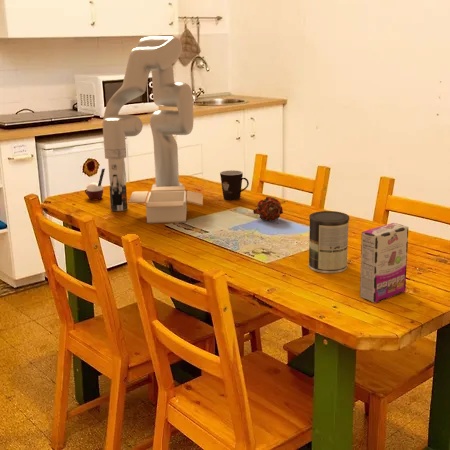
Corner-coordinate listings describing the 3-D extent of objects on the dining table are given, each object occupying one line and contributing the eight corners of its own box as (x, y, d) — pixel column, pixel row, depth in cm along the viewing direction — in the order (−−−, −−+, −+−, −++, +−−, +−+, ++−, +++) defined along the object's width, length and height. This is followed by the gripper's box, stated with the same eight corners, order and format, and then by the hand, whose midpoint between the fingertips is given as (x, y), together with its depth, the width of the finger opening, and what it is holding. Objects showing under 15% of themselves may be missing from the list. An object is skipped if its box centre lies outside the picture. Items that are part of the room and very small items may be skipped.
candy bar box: (389, 286, 156) (393, 221, 151) (406, 292, 152) (410, 226, 148) (357, 297, 150) (360, 230, 145) (374, 304, 146) (377, 235, 141)
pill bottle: (126, 211, 228) (124, 180, 225) (109, 211, 228) (107, 180, 225) (128, 207, 234) (126, 176, 231) (112, 207, 234) (110, 177, 231)
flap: (187, 190, 226) (202, 193, 226) (187, 191, 226) (202, 195, 227) (186, 200, 212) (202, 204, 212) (186, 201, 212) (202, 205, 212)
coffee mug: (216, 197, 245) (216, 171, 242) (237, 194, 249) (236, 169, 246) (229, 204, 235) (229, 177, 232) (250, 201, 239) (250, 175, 236)
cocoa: (83, 199, 248) (79, 169, 245) (97, 195, 252) (93, 166, 249) (96, 202, 241) (92, 171, 238) (110, 198, 245) (106, 168, 242)
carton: (135, 207, 233) (134, 187, 231) (187, 205, 234) (186, 186, 232) (127, 229, 207) (126, 206, 205) (185, 227, 208) (184, 205, 205)
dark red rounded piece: (277, 229, 209) (258, 225, 219) (293, 211, 211) (274, 208, 222) (262, 210, 206) (244, 208, 216) (279, 192, 208) (260, 190, 218)
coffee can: (300, 268, 169) (301, 217, 165) (321, 257, 177) (322, 208, 173) (334, 276, 163) (336, 223, 159) (354, 265, 171) (356, 214, 167)
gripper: (123, 157, 217) (126, 208, 222) (128, 149, 234) (131, 196, 239) (101, 158, 217) (105, 209, 222) (108, 149, 233) (111, 197, 238)
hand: (118, 202), depth 230 cm, fingers open, 6 cm apart
